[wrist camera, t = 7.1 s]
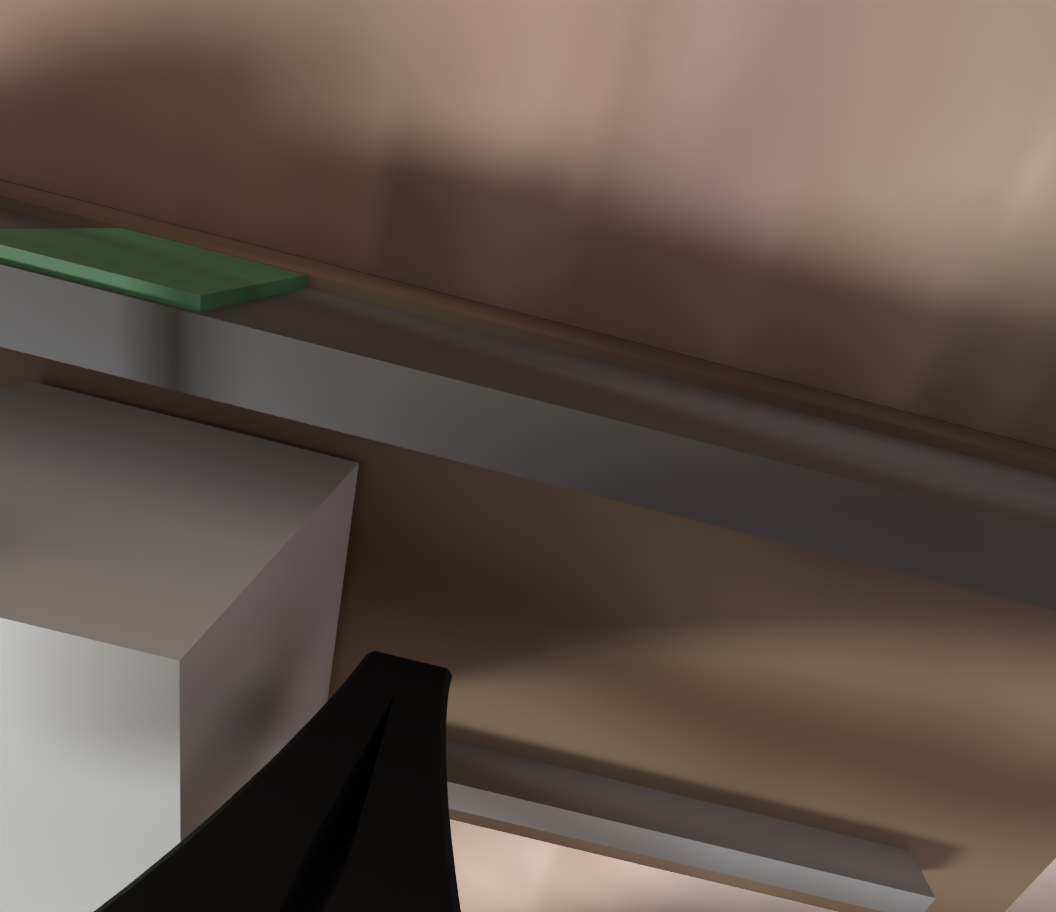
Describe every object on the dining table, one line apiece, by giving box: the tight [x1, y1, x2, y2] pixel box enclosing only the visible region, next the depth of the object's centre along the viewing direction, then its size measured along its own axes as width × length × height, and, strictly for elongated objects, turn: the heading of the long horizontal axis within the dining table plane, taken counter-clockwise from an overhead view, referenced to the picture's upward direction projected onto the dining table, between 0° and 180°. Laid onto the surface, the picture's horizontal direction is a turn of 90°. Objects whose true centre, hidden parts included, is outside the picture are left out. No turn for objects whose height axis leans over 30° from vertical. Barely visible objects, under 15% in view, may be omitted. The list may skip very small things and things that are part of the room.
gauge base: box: [0, 180, 1056, 912], centre depth 9 cm, size 12×30×8 cm, turn 77°
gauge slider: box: [0, 381, 359, 912], centre depth 8 cm, size 9×6×5 cm
